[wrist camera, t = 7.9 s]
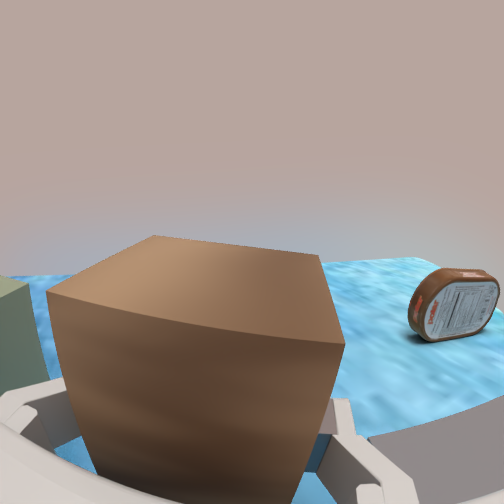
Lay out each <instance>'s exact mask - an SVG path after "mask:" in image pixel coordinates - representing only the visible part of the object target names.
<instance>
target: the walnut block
mask: <svg viewBox="0 0 504 504" xmlns="http://www.w3.org/2000/svg"><path fill="white" fill-rule="evenodd" d="M46 296H47V303H48V309H49V315H50V321H51V327H52V332H53V337H54V342H55V346H56V351H57V355H58V359H59V364H60V368H61V371H62V375H63V379H64V383H65V386H66V390H67V393H68V396H69V400H70V403H71V406H72V409H73V412H74V415H75V418H76V421H77V424H78V427H79V430H80V432H81V435H82V438H83V440H84V443H85V446H86V448H87V451H88V453H89V455H90V458H91V460H92V463H93V465H94V467H95V470H96V472H97V474H98V475H99V476H101V477H104V478H106V479H109V480H111V481H114V482H116V483H119V484H122V485H124V486H127V487H130V488H133V489H136V490H138V491H141V492H144V493H148V494H151V495H154V496H157V497H161V498H164V499H168V500H171V501H175V502H179V503H183V504H291V502H292V499H293V497H294V495H295V492H296V490H297V488H298V485H299V483H300V480H301V478H302V475H303V473H304V470H305V468H306V465H307V463H308V460H309V457H310V455H311V452H312V449H313V447H314V444H315V441H316V438H317V436H318V433H319V430H320V427H321V424H322V421H323V418H324V415H325V412H326V409H327V406H328V403H329V400H330V396H331V393H332V390H333V387H334V383H335V380H336V376H337V373H338V369H339V366H340V362H341V359H342V355H343V351H344V348H345V340H344V337H343V334H342V330H341V327H340V323H339V320H338V317H337V313H336V310H335V307H334V303H333V300H332V297H331V294H330V290H329V287H328V284H327V281H326V278H325V275H324V272H323V269H322V265H321V262H320V259H319V257H318V255H313V254H304V253H296V252H288V251H280V250H272V249H264V248H256V247H247V246H239V245H230V244H223V243H213V242H206V241H198V240H189V239H181V238H173V237H164V236H156V235H153V236H151V237H149V238H147V239H145V240H143V241H141V242H139V243H137V244H135V245H133V246H131V247H129V248H127V249H125V250H123V251H121V252H119V253H117V254H115V255H113V256H111V257H109V258H107V259H105V260H103V261H101V262H99V263H97V264H95V265H93V266H91V267H89V268H87V269H85V270H83V271H81V272H80V273H78V274H76V275H74V276H72V277H70V278H68V279H66V280H64V281H63V282H61V283H59V284H57V285H55V286H53V287H52V288H50V289H48V290H46Z"/></svg>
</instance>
